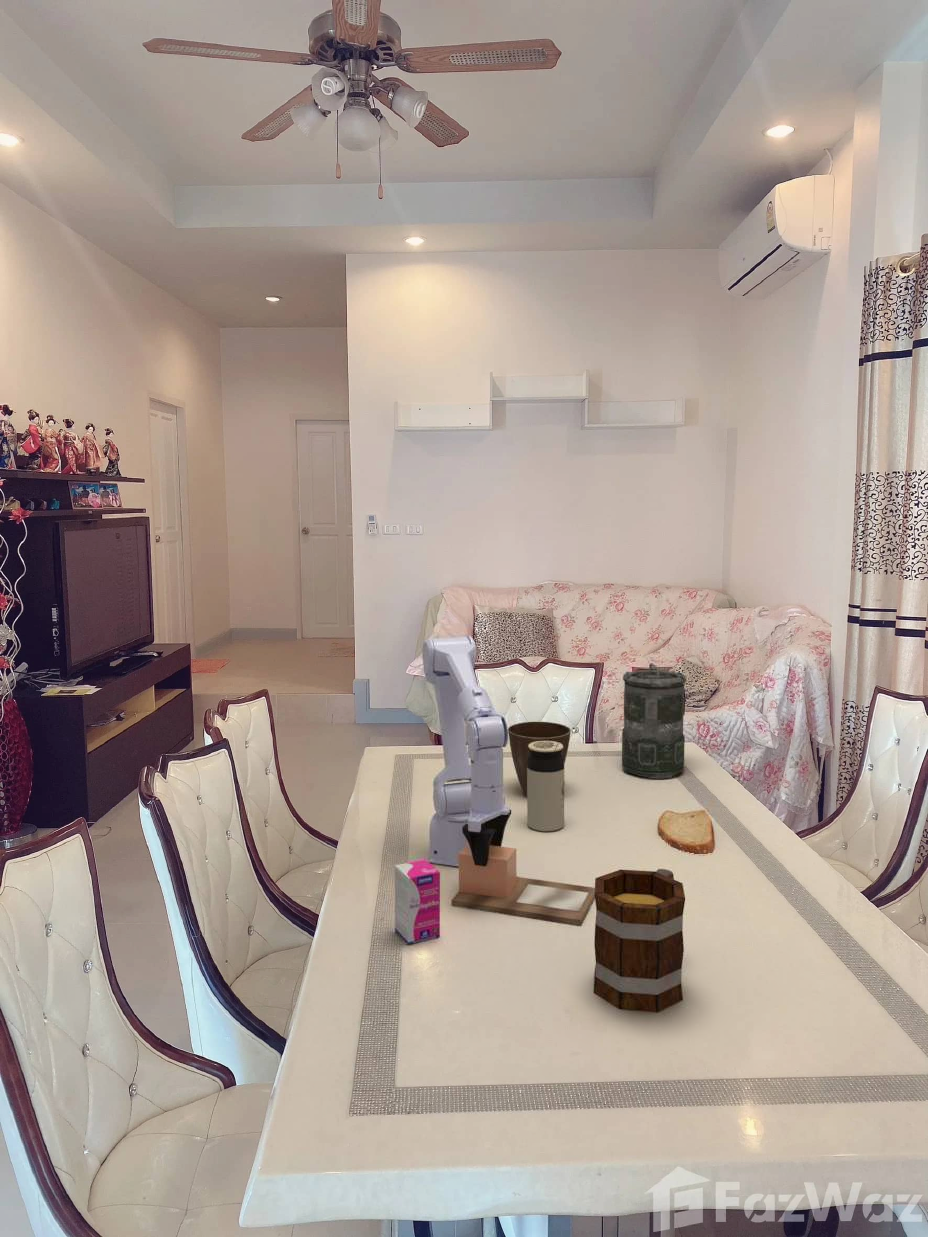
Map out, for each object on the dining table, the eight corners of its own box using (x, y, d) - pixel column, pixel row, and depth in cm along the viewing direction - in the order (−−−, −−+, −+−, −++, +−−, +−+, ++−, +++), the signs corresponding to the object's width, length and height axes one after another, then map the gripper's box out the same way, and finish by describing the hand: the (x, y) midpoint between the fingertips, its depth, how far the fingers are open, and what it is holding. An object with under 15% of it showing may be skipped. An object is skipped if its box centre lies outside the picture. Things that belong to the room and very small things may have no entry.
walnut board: (451, 905, 155) (451, 899, 155) (476, 876, 167) (476, 870, 167) (580, 926, 147) (580, 919, 147) (597, 893, 159) (597, 887, 159)
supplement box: (408, 946, 141) (407, 877, 140) (394, 930, 146) (392, 864, 145) (441, 938, 144) (440, 870, 142) (426, 923, 149) (425, 857, 147)
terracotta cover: (459, 891, 158) (458, 853, 158) (469, 878, 164) (469, 842, 163) (507, 898, 155) (506, 860, 154) (516, 885, 161) (516, 848, 160)
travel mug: (522, 829, 191) (522, 748, 188) (533, 817, 198) (533, 738, 196) (558, 834, 188) (558, 751, 185) (568, 821, 195) (568, 742, 193)
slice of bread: (701, 860, 175) (702, 841, 174) (629, 834, 188) (630, 817, 188) (752, 837, 186) (753, 820, 185) (681, 815, 200) (681, 799, 199)
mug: (666, 1024, 119) (668, 918, 118) (575, 995, 127) (575, 895, 125) (710, 960, 136) (712, 866, 134) (626, 938, 143) (628, 849, 141)
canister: (614, 763, 238) (615, 660, 234) (671, 760, 240) (673, 658, 236) (631, 781, 222) (633, 671, 219) (693, 778, 224) (695, 669, 220)
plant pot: (580, 790, 216) (581, 726, 214) (553, 808, 204) (553, 740, 201) (526, 780, 224) (526, 718, 222) (496, 797, 212) (496, 732, 209)
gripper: (495, 798, 149) (496, 875, 151) (520, 773, 162) (520, 845, 164) (456, 794, 151) (457, 870, 153) (484, 770, 165) (484, 840, 166)
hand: (487, 856), depth 159 cm, fingers open, 7 cm apart
